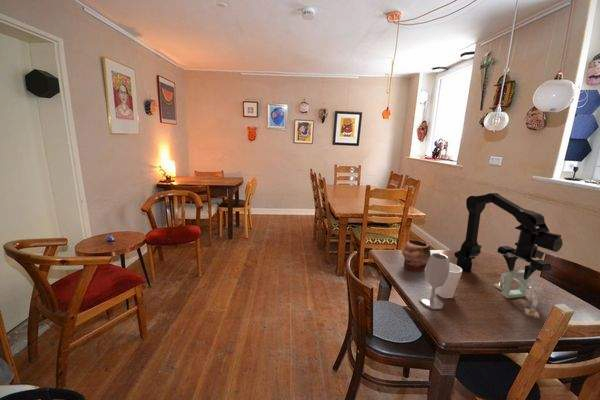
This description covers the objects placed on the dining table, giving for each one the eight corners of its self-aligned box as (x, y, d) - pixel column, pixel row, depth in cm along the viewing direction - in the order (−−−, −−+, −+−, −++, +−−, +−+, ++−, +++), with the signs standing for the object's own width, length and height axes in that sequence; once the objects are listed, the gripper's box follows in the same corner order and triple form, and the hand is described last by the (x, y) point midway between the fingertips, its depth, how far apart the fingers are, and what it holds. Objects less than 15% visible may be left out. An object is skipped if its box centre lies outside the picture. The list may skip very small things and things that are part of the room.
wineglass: (433, 312, 102) (442, 262, 97) (414, 300, 109) (422, 253, 105) (447, 306, 106) (457, 258, 101) (428, 295, 113) (436, 250, 109)
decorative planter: (415, 258, 150) (418, 235, 146) (436, 267, 140) (440, 242, 137) (394, 267, 138) (397, 242, 135) (415, 277, 128) (420, 250, 125)
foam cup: (454, 291, 118) (459, 264, 115) (459, 302, 109) (464, 274, 106) (431, 286, 120) (435, 260, 118) (433, 297, 112) (438, 269, 109)
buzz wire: (528, 318, 101) (540, 298, 99) (490, 284, 125) (499, 267, 123) (542, 322, 101) (554, 303, 99) (502, 287, 125) (511, 271, 122)
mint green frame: (507, 298, 114) (513, 274, 112) (500, 294, 117) (506, 270, 114) (525, 296, 116) (531, 272, 114) (518, 292, 119) (524, 269, 116)
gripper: (567, 250, 104) (556, 285, 107) (519, 233, 121) (511, 264, 125) (545, 251, 101) (535, 288, 105) (500, 234, 119) (492, 266, 123)
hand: (518, 275), depth 114 cm, fingers open, 6 cm apart
